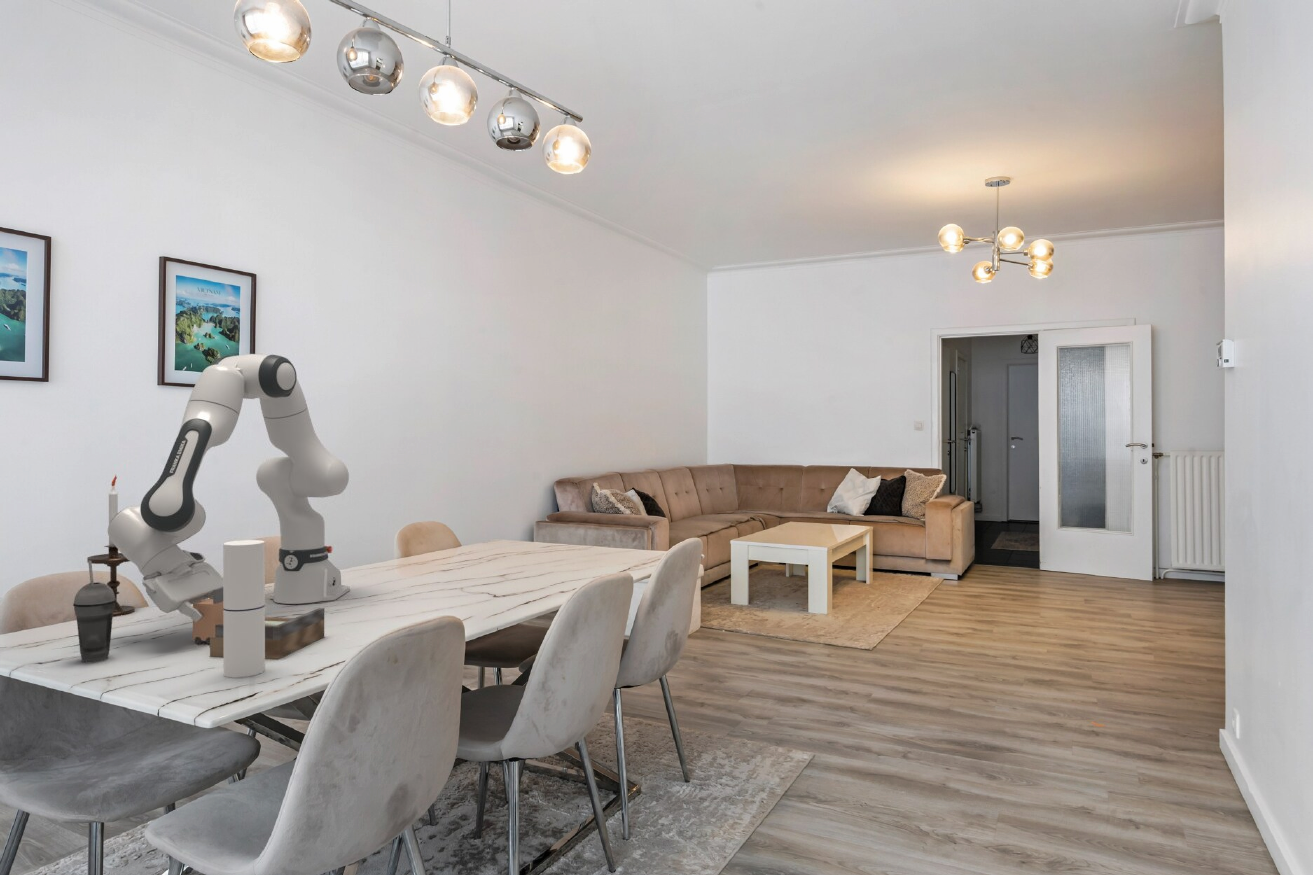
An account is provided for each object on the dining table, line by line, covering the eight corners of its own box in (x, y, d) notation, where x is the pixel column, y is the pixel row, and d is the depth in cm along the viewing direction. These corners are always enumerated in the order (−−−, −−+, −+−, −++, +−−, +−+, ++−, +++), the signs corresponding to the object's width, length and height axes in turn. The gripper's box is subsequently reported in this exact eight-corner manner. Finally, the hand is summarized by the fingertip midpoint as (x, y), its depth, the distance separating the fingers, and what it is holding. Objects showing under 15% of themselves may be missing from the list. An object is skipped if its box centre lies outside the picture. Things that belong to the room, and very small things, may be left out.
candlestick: (149, 608, 212) (148, 473, 211) (117, 618, 201) (116, 476, 201) (110, 607, 213) (109, 473, 212) (76, 617, 202) (75, 475, 202)
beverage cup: (94, 665, 162) (94, 564, 161) (63, 663, 163) (63, 563, 163) (125, 655, 169) (125, 558, 169) (95, 653, 170) (95, 557, 170)
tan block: (208, 637, 183) (207, 585, 183) (228, 638, 182) (228, 585, 182) (192, 643, 178) (192, 589, 178) (214, 644, 178) (214, 590, 177)
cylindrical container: (221, 679, 153) (221, 546, 153) (225, 668, 160) (224, 541, 160) (264, 674, 156) (264, 544, 156) (265, 664, 163) (265, 539, 162)
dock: (262, 634, 186) (261, 605, 186) (324, 636, 185) (324, 607, 185) (209, 656, 168) (209, 624, 168) (278, 659, 167) (278, 627, 167)
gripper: (148, 567, 170) (195, 614, 170) (205, 552, 190) (247, 594, 190) (127, 588, 170) (173, 635, 170) (186, 571, 190) (228, 613, 190)
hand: (213, 614), depth 180 cm, fingers open, 8 cm apart
